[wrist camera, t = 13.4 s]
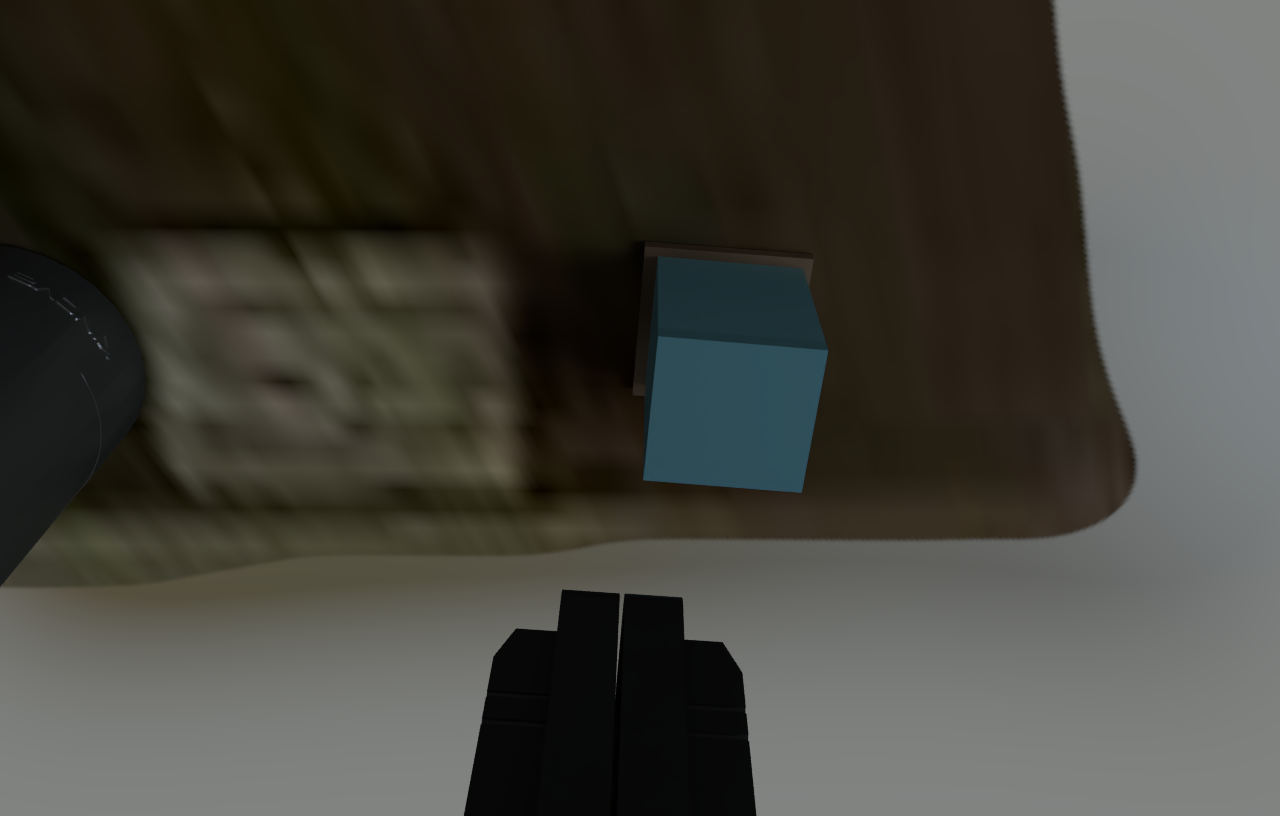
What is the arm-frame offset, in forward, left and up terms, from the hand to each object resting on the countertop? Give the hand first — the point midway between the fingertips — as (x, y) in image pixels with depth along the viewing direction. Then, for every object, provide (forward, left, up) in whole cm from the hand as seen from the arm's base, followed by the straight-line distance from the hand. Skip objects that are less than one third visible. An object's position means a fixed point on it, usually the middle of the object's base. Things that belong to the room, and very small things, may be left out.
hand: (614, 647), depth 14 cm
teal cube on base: (-3, -8, -26) cm, 28 cm away
